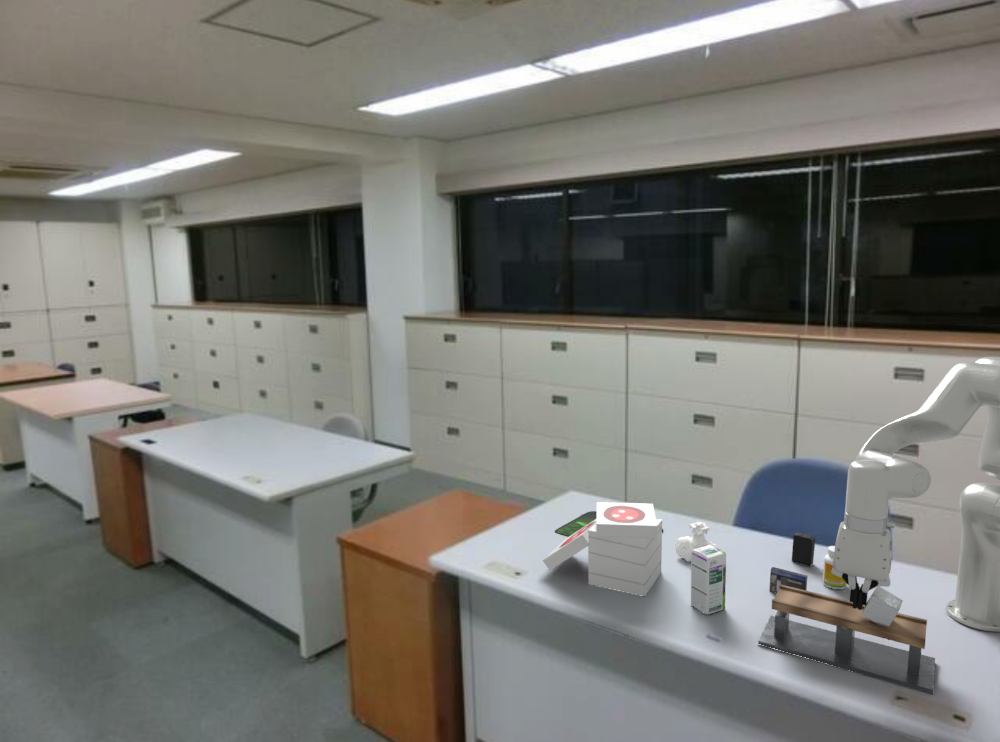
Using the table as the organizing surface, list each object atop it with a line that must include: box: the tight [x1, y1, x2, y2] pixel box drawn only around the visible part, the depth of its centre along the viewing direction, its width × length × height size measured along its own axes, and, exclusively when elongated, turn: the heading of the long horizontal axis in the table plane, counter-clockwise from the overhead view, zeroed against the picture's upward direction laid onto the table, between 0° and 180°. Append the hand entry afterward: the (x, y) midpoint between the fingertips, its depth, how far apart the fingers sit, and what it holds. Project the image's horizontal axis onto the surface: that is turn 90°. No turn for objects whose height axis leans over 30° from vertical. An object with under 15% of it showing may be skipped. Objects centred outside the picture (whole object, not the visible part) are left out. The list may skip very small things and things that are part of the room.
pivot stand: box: [757, 610, 936, 695], centre depth 143 cm, size 32×12×8 cm, turn 57°
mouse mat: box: [554, 510, 664, 538], centre depth 208 cm, size 27×22×1 cm
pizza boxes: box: [542, 501, 663, 597], centre depth 179 cm, size 19×30×18 cm, turn 61°
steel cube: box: [861, 586, 904, 628], centre depth 137 cm, size 5×5×5 cm
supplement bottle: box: [822, 545, 848, 590], centre depth 171 cm, size 5×5×10 cm
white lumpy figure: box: [675, 521, 719, 563], centre depth 188 cm, size 12×8×11 cm
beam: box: [771, 584, 928, 650], centre depth 142 cm, size 28×9×3 cm, turn 57°
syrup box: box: [690, 545, 727, 616], centre depth 162 cm, size 6×6×14 cm
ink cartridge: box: [791, 532, 816, 567], centre depth 183 cm, size 5×2×8 cm, turn 47°
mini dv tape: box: [769, 566, 808, 594], centre depth 167 cm, size 8×2×6 cm, turn 53°
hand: (857, 606), depth 140 cm, fingers closed
